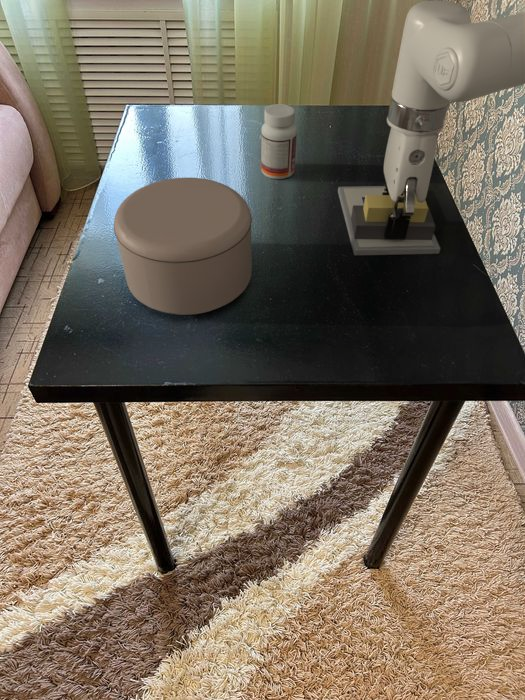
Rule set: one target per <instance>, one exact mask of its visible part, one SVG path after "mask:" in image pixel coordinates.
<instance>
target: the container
mask: <svg viewBox="0 0 525 700" xmlns="http://www.w3.org/2000/svg"><path fill="white" fill-rule="evenodd" d="M252 219H253V218H252V213H251V209H250V207H249V205H248V203H247V201H246V200H245V198H244V197H243V196H242V195H241V194H240V193H239V192H238V191H237V190H235V189H234V188H232V187H231V186H228V185H226V184H224V183H221V182H219V181H215V180H211V179H208V178H201V177H174V178H167V179H163V180H158V181H155V182H151V183H149V184H147V185H144V186H142V187H140V188H138V189H136V190H135V191H134V192H132V193H130V194H129V195H128V196H127V197H126V198H124V200H123V201H122V202H121V203H120V205H119V206H118V208H117V209H116V212H115V215H114V220H113V233H114V235H115V238H116V242H117V247H118V251H119V255H120V259H121V263H122V268H123V272H124V276H125V279H126V284H127V288H128V290H129V292H130V293H131V294H132V296H133V297H134V298H135V300H137V301H139V302H140V303H142V304H143V305H144V306H146V307H148V308H151V309H152V310H155V311H158V312H162V313H167V314H172V315H184V316H186V315H187V316H188V315H198V314H199V315H200V314H204V313H208V312H211V311H213V310H217V309H219V308H222V307H224V306H226V305H228V304H229V303H231V302H233V301H234V300H235V299H237V298H238V297H239V296H240V295H241V294H242V293H243V292H244V291H245V290H246V289H247V287H248V285H249V283H250V281H251V278H252V272H253V271H252V268H253V267H252V266H253V263H252V262H253V261H252V221H253V220H252Z"/></svg>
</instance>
